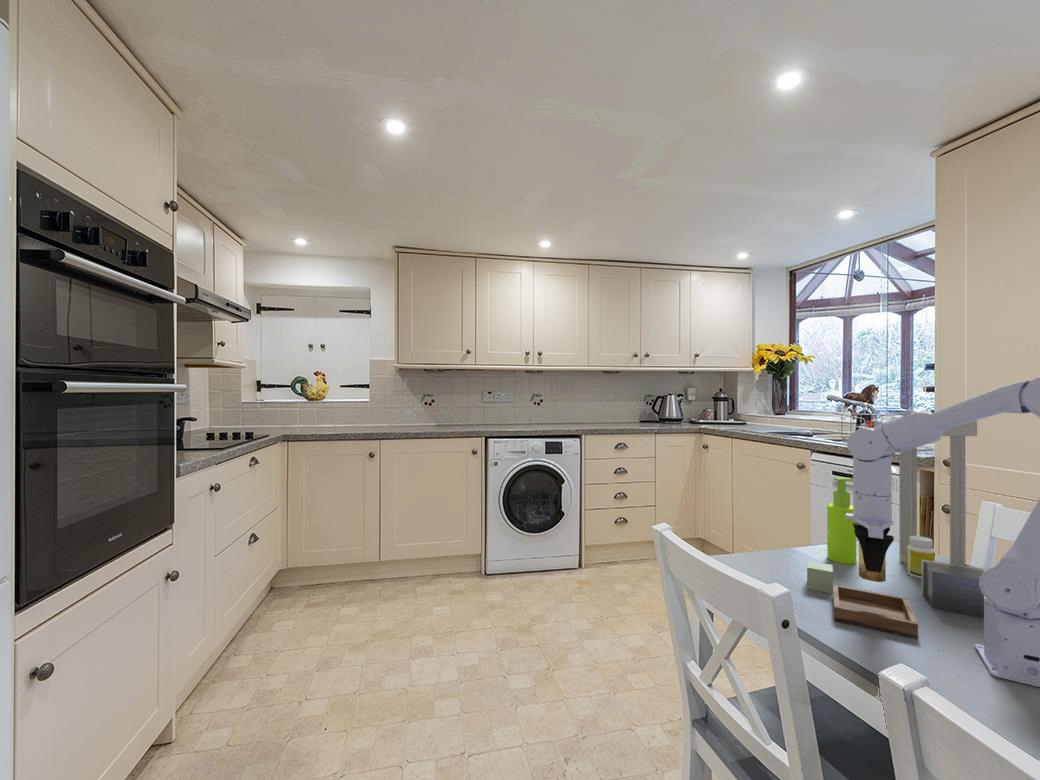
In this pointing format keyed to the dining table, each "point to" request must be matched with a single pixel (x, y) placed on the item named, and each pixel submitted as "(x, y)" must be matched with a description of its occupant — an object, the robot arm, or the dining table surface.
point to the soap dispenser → (841, 526)
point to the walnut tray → (874, 611)
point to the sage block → (820, 577)
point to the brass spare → (869, 574)
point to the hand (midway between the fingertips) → (872, 567)
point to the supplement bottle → (918, 554)
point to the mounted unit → (953, 587)
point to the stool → (956, 493)
